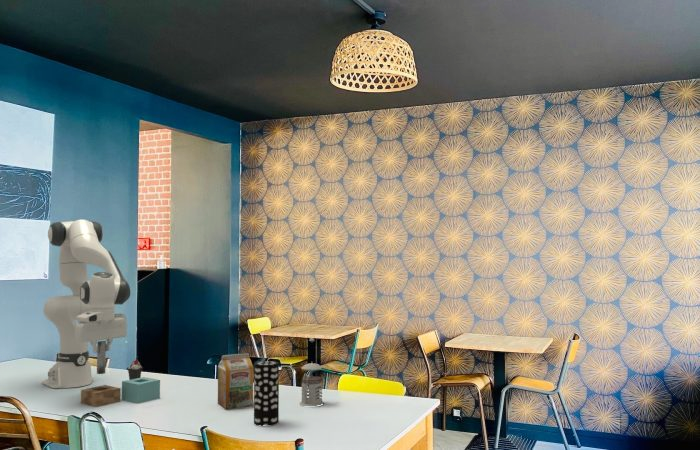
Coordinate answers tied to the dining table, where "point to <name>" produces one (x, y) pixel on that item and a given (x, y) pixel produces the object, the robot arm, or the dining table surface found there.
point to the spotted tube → (266, 393)
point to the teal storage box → (140, 390)
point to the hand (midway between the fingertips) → (101, 351)
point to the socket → (100, 395)
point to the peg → (101, 357)
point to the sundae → (134, 370)
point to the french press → (311, 386)
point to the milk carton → (235, 381)
